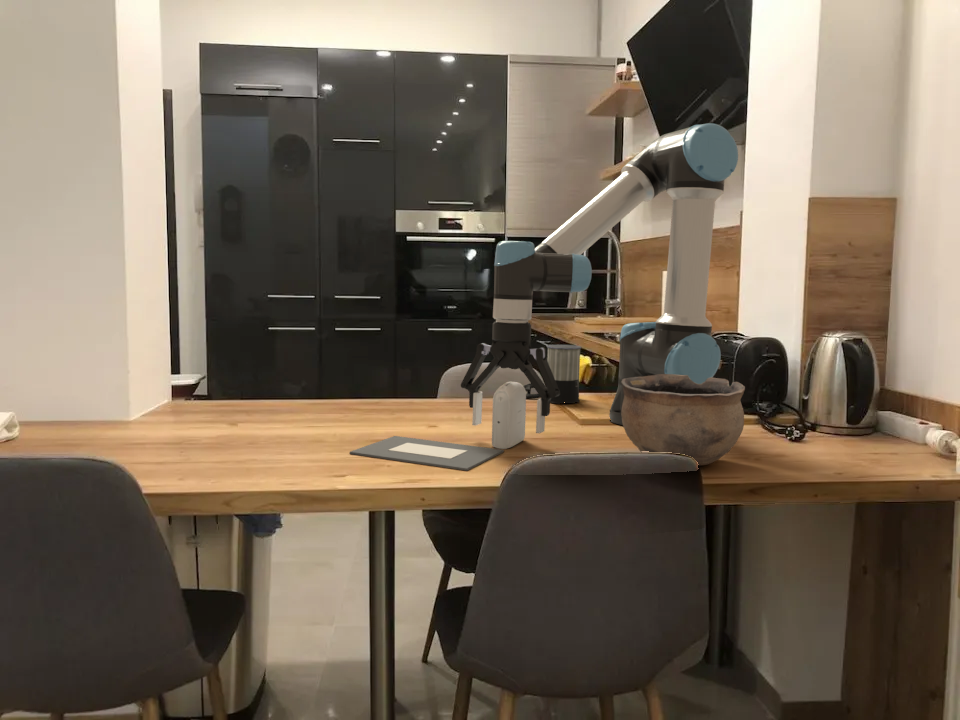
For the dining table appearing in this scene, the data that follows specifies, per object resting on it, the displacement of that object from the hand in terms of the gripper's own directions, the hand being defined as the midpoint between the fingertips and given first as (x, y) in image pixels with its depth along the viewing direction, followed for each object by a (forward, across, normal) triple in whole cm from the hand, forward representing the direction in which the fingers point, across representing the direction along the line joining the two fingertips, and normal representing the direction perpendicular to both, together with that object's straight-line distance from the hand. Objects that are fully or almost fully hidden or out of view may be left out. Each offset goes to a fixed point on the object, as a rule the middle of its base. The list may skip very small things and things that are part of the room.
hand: (507, 428), depth 155 cm
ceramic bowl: (+3, -33, -2) cm, 33 cm away
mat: (+3, +10, +15) cm, 18 cm away
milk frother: (+3, +11, -55) cm, 56 cm away
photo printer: (+3, 0, 0) cm, 3 cm away
